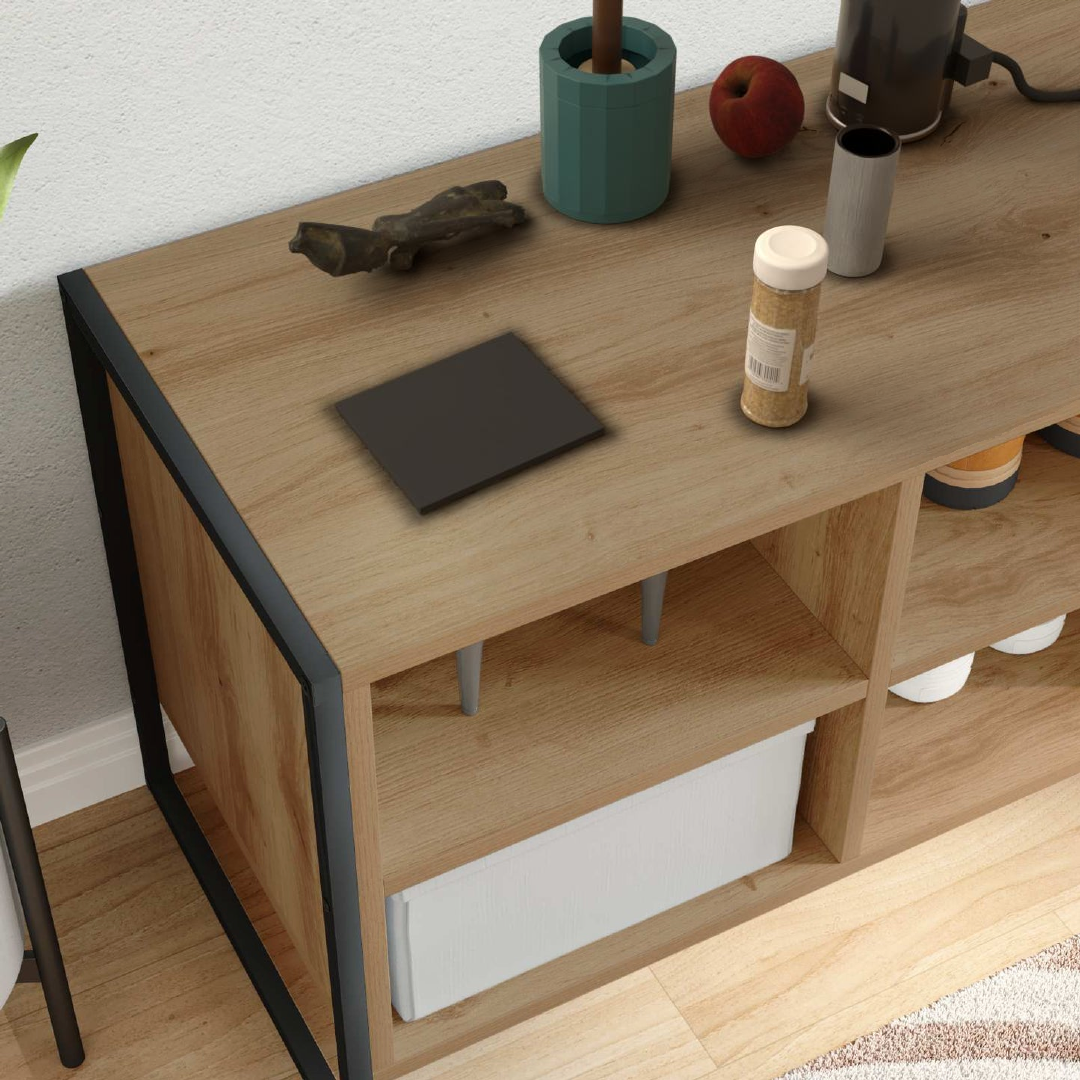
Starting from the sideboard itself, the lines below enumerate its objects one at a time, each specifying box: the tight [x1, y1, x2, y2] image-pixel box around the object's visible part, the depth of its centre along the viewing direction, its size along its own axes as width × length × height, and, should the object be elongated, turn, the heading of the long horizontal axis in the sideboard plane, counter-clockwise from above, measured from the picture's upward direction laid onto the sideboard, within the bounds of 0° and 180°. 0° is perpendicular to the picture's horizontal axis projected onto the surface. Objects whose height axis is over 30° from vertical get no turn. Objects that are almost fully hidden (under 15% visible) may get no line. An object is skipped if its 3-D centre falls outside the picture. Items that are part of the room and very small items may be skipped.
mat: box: [334, 331, 605, 516], centre depth 106 cm, size 14×12×1 cm
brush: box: [578, 0, 636, 75], centre depth 114 cm, size 4×4×19 cm
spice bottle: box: [740, 224, 829, 428], centre depth 102 cm, size 5×5×13 cm
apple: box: [708, 54, 806, 159], centre depth 125 cm, size 7×8×8 cm
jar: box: [538, 15, 678, 225], centre depth 120 cm, size 10×10×12 cm
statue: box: [287, 179, 527, 278], centre depth 117 cm, size 6×6×20 cm
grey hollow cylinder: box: [821, 123, 902, 278], centre depth 114 cm, size 4×4×10 cm
